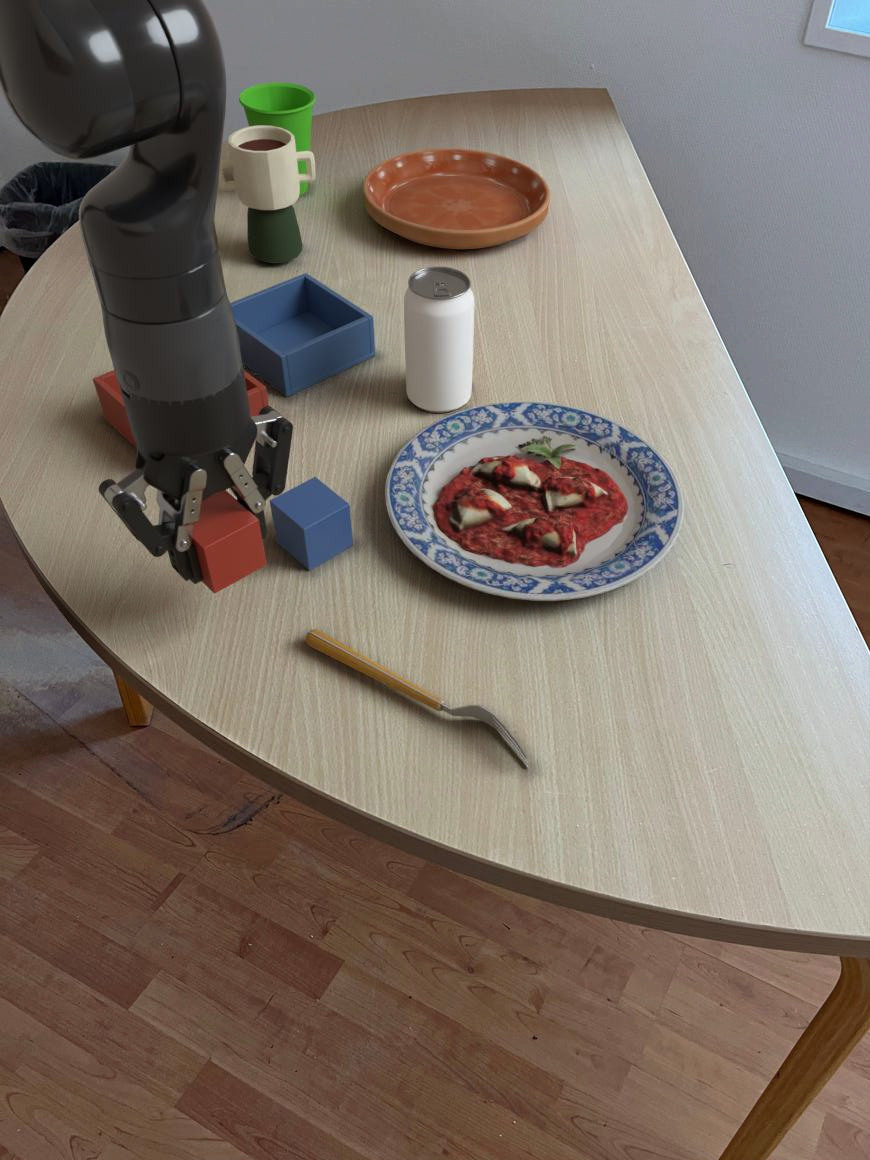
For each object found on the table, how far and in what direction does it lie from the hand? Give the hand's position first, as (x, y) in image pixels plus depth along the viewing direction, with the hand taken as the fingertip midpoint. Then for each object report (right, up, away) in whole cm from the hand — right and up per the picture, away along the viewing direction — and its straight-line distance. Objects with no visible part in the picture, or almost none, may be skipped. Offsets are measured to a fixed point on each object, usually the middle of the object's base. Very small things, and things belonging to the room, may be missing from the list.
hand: (222, 559), depth 71 cm
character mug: (-5, +39, +41) cm, 56 cm away
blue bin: (0, +24, +28) cm, 37 cm away
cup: (-6, +52, +52) cm, 73 cm away
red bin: (-8, +15, +19) cm, 26 cm away
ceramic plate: (+24, +5, +13) cm, 28 cm away
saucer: (+16, +47, +49) cm, 70 cm away
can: (+15, +18, +24) cm, 33 cm away
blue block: (+5, +2, +9) cm, 11 cm away
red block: (0, 0, 0) cm, 0 cm away
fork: (+14, -10, -1) cm, 18 cm away
